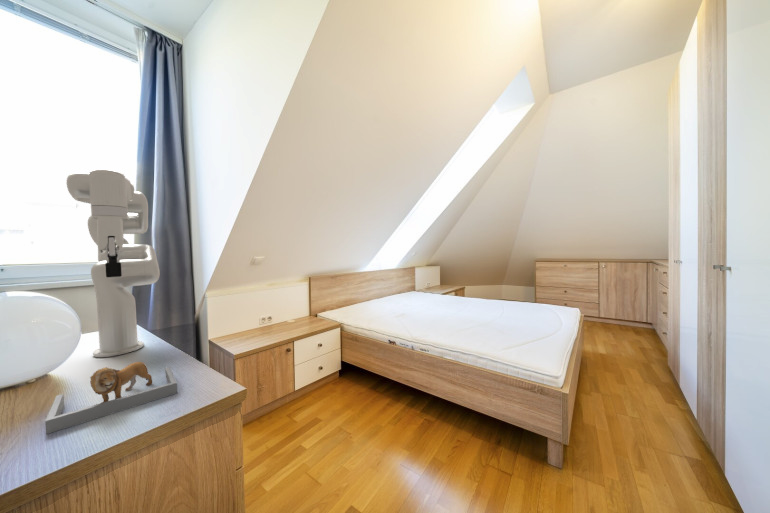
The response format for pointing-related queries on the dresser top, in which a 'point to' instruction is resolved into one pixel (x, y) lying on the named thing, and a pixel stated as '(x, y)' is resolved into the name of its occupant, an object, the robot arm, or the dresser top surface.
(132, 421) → the dresser top surface
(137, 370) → the lion figurine
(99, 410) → the box
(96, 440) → the dresser top surface
